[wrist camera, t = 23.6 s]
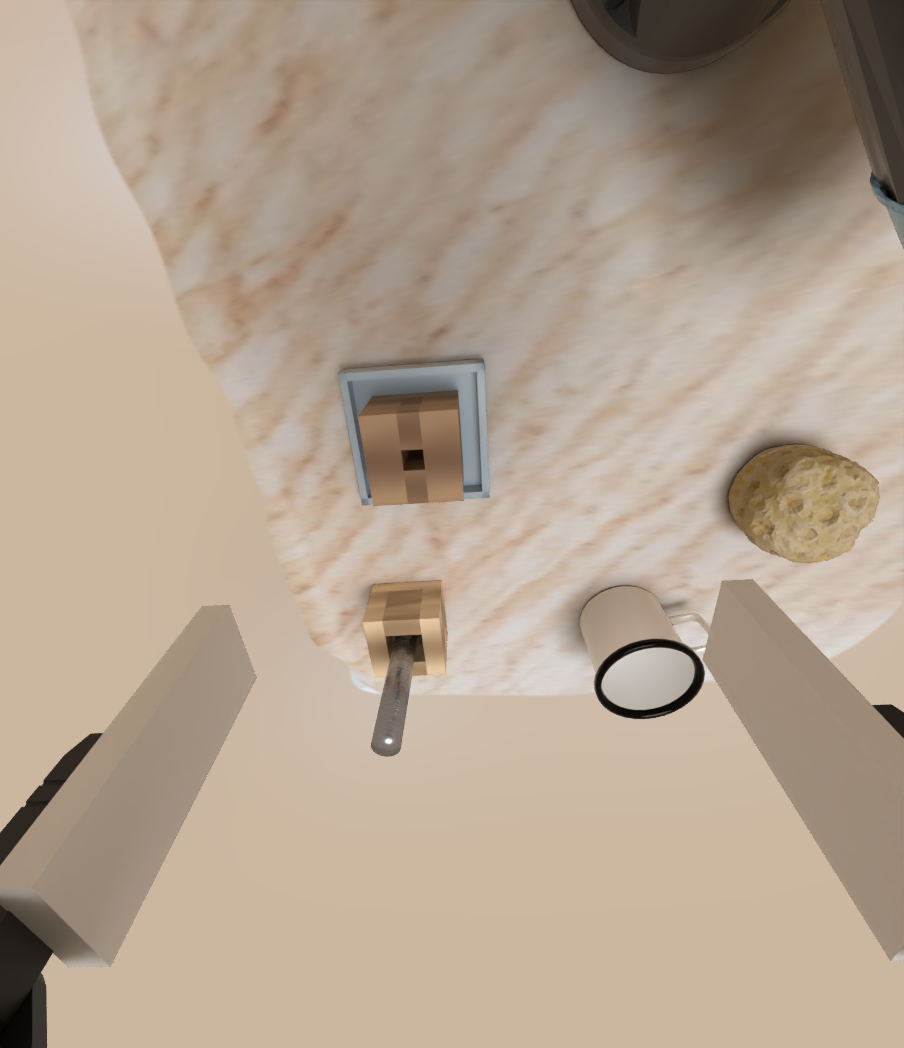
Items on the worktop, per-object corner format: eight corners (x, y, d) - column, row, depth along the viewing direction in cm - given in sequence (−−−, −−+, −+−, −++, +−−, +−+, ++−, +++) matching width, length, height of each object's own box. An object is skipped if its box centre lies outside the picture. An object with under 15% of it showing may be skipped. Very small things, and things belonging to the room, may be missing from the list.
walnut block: (372, 396, 38) (357, 416, 32) (458, 390, 37) (457, 409, 32) (384, 475, 41) (373, 505, 36) (463, 471, 41) (463, 500, 35)
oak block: (373, 583, 48) (362, 622, 42) (441, 579, 47) (439, 618, 42) (383, 635, 51) (374, 677, 46) (447, 632, 50) (445, 674, 45)
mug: (582, 658, 52) (603, 728, 44) (566, 592, 47) (587, 656, 39) (693, 634, 50) (737, 703, 42) (687, 564, 46) (735, 625, 38)
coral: (781, 544, 44) (838, 593, 38) (700, 511, 43) (744, 556, 36) (855, 460, 40) (933, 498, 34) (768, 420, 39) (832, 451, 32)
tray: (343, 368, 37) (337, 373, 36) (483, 358, 37) (484, 362, 35) (366, 495, 43) (362, 505, 41) (488, 488, 42) (489, 497, 40)
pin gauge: (397, 610, 47) (368, 737, 34) (419, 608, 47) (398, 735, 34) (401, 627, 48) (374, 757, 35) (422, 625, 48) (402, 755, 35)
